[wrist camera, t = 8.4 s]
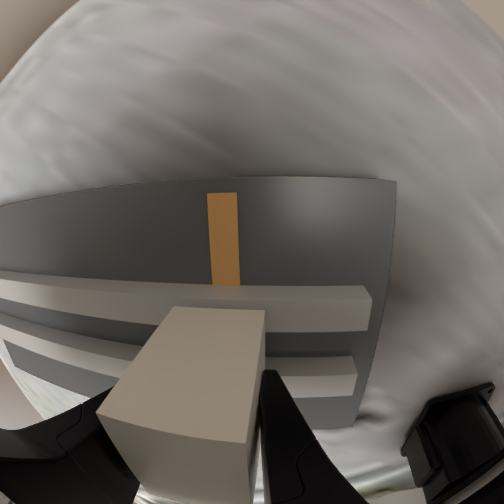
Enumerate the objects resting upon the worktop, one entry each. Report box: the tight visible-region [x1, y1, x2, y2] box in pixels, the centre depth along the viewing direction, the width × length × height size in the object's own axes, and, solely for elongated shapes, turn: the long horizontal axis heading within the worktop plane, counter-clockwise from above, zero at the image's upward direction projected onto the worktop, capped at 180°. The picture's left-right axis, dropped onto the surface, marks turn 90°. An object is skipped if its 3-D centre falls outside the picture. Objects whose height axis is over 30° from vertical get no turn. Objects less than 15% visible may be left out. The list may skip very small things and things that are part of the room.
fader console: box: [0, 176, 396, 429], centre depth 12 cm, size 24×12×3 cm, turn 92°
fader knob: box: [96, 306, 265, 504], centre depth 8 cm, size 3×4×6 cm
